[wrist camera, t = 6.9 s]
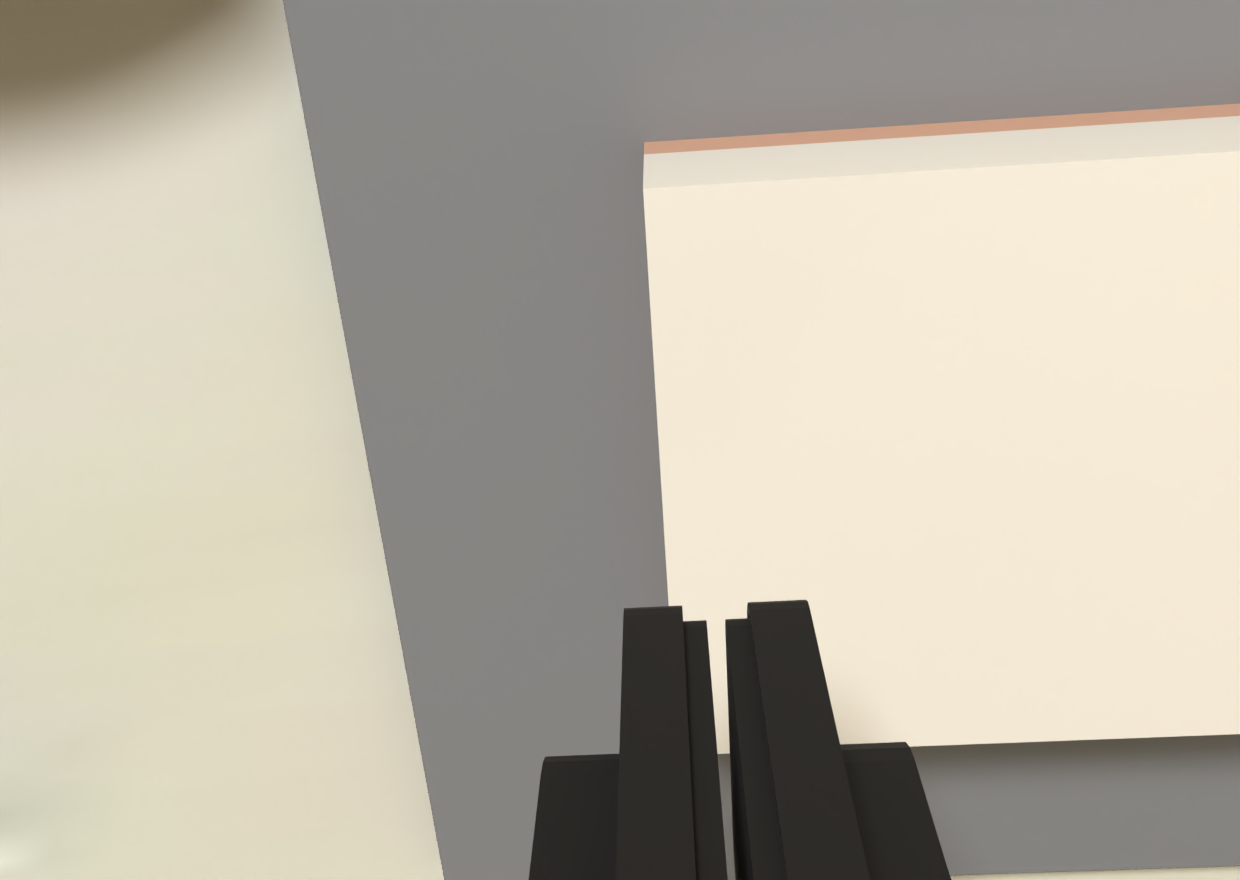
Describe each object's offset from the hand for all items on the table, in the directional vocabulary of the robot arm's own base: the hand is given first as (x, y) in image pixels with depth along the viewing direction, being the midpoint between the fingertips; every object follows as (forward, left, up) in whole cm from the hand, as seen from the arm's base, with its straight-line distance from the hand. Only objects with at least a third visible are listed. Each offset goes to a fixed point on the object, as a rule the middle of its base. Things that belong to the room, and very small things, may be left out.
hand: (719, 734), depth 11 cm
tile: (0, 0, -5) cm, 5 cm away
